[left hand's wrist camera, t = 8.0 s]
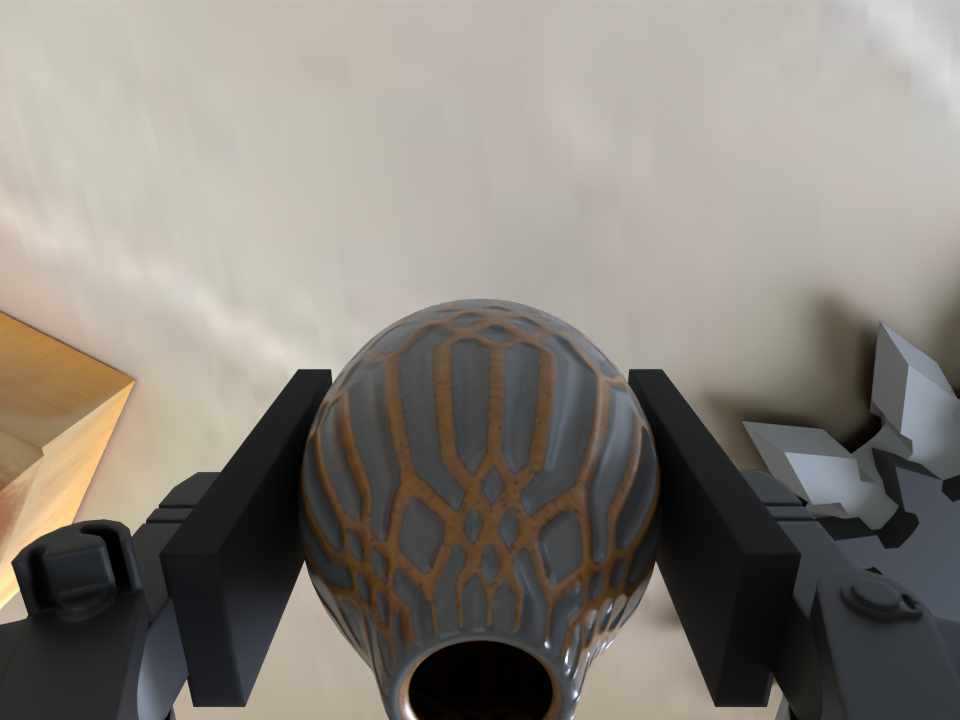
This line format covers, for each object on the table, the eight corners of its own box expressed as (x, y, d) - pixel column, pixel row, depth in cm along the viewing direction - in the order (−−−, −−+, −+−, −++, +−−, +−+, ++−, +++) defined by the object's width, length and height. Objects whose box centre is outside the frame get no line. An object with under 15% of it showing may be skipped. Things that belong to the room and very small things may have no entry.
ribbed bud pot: (334, 268, 14) (140, 454, 6) (626, 268, 14) (821, 454, 6) (355, 515, 17) (237, 882, 9) (605, 515, 17) (724, 883, 9)
